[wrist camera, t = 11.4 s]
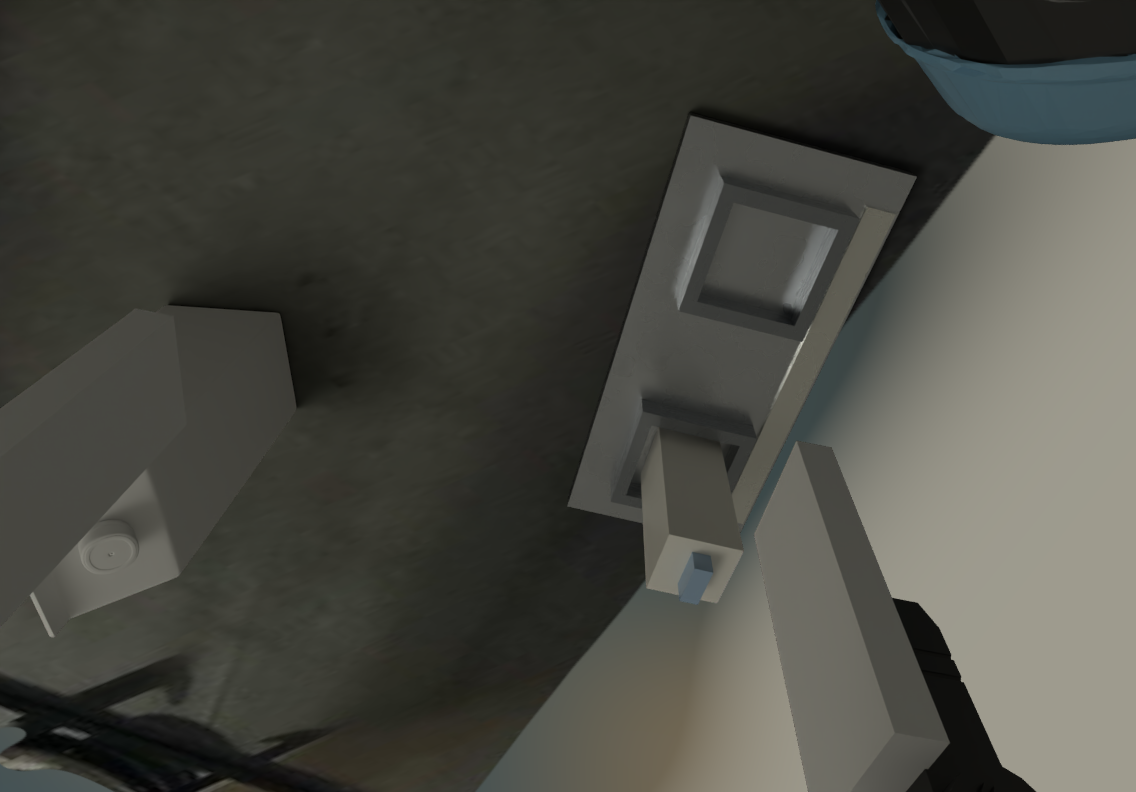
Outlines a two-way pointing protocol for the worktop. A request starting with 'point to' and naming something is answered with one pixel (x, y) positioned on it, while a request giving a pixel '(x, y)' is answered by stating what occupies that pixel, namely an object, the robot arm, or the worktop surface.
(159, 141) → the worktop surface
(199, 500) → the milk carton
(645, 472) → the plug
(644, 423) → the panel
